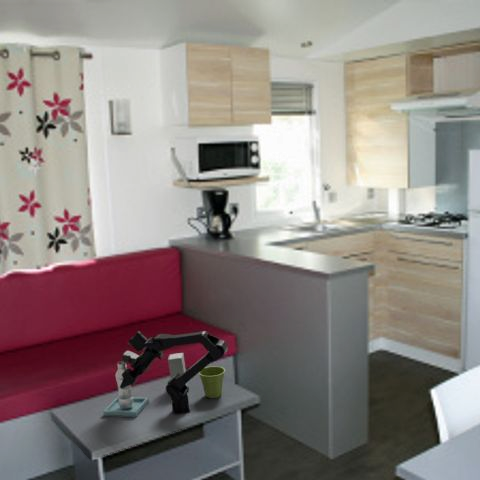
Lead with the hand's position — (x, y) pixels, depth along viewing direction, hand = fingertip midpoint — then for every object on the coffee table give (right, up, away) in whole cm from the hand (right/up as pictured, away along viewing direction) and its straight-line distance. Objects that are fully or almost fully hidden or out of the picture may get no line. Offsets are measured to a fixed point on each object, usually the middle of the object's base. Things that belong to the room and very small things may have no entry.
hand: (125, 383), depth 283 cm
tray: (0, -12, +2) cm, 12 cm away
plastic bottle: (0, -11, +2) cm, 11 cm away
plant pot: (+37, -8, +10) cm, 39 cm away
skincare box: (+21, -7, +20) cm, 30 cm away
